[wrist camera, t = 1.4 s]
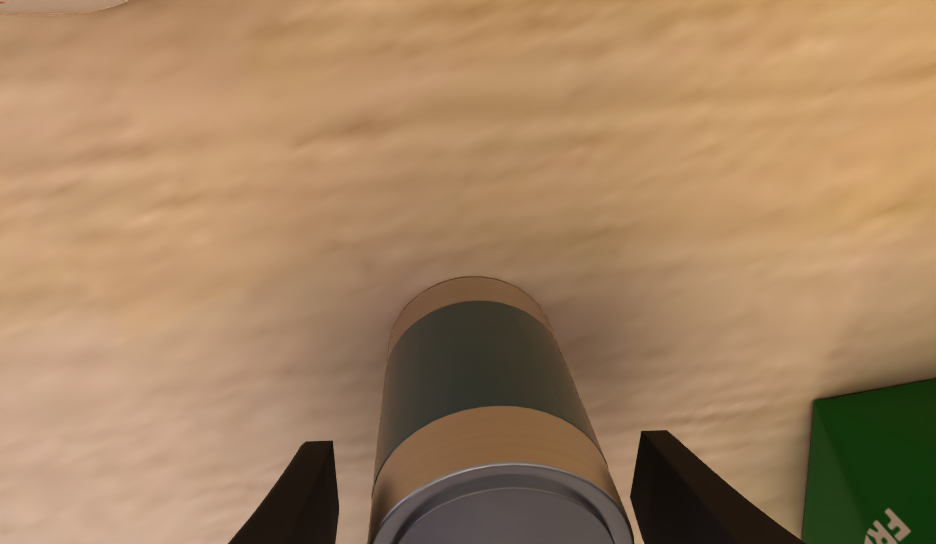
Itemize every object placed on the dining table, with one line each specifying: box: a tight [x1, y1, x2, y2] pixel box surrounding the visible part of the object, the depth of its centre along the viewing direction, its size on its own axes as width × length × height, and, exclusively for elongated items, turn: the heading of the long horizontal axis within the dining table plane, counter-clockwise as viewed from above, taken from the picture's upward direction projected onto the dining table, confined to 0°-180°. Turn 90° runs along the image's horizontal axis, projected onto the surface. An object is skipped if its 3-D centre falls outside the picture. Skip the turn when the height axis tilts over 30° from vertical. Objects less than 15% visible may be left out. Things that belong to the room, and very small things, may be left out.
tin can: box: [367, 277, 634, 544], centre depth 15 cm, size 5×5×8 cm
